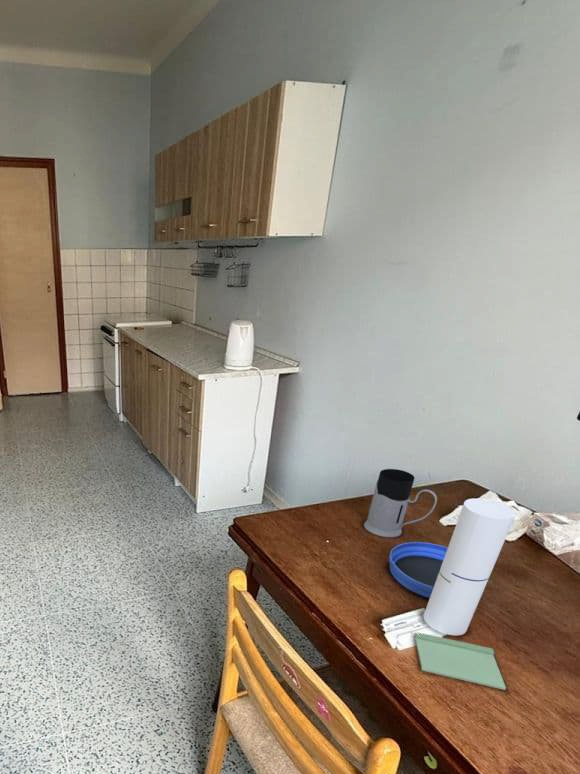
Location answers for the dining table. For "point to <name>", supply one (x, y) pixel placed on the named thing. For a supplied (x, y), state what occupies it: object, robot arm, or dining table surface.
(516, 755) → the dining table surface
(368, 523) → the glass holder
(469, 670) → the green flat panel
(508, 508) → the cylindrical container
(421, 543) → the bowl
